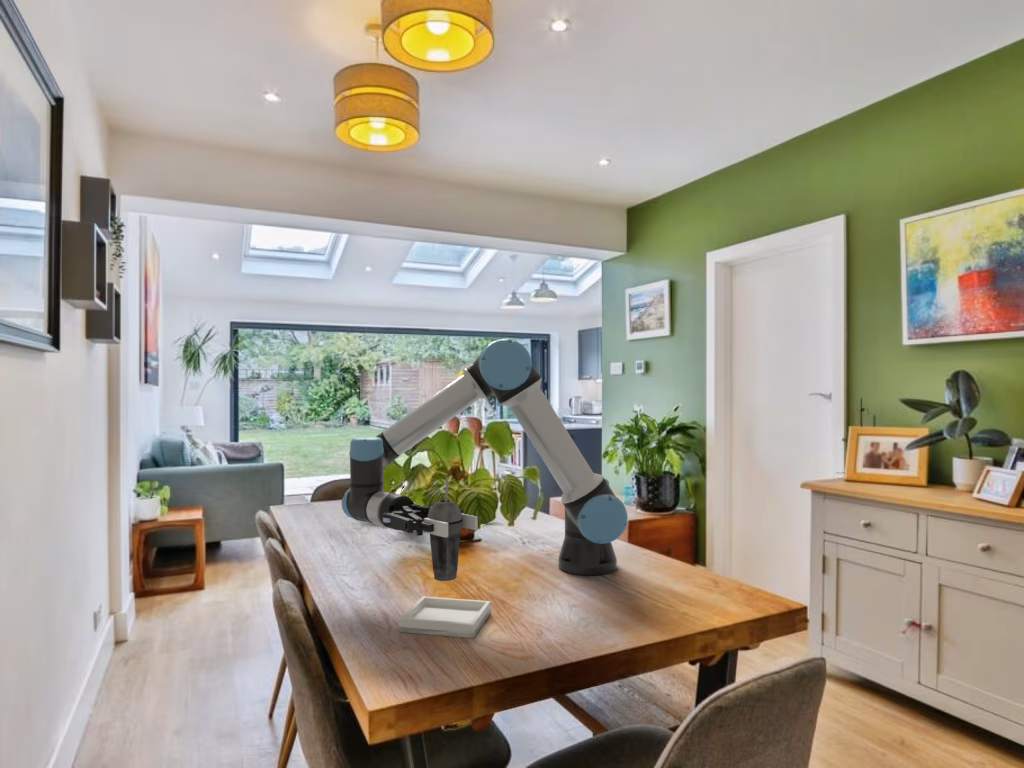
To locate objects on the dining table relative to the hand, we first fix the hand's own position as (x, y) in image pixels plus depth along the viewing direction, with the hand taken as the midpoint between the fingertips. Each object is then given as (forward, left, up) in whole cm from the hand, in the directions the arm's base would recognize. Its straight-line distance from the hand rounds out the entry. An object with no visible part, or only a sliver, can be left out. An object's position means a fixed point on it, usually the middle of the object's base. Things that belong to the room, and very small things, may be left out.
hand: (461, 526), depth 120 cm
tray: (+4, -2, -20) cm, 21 cm away
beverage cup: (+4, -2, -11) cm, 12 cm away
